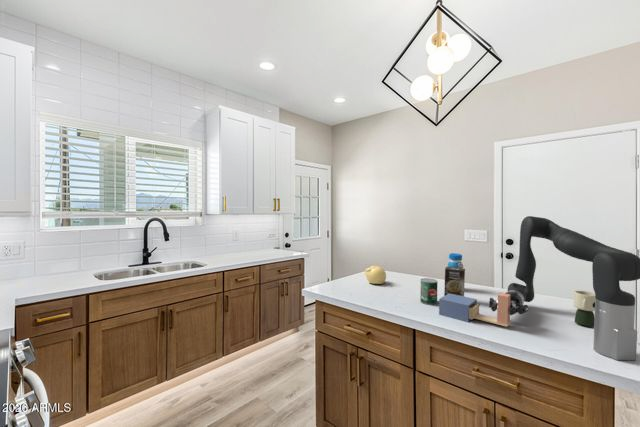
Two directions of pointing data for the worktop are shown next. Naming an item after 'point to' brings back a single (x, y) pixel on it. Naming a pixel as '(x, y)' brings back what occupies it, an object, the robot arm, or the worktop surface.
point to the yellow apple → (375, 275)
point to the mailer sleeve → (456, 306)
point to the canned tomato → (428, 291)
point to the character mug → (584, 307)
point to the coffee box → (454, 281)
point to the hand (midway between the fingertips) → (502, 310)
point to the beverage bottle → (455, 260)
